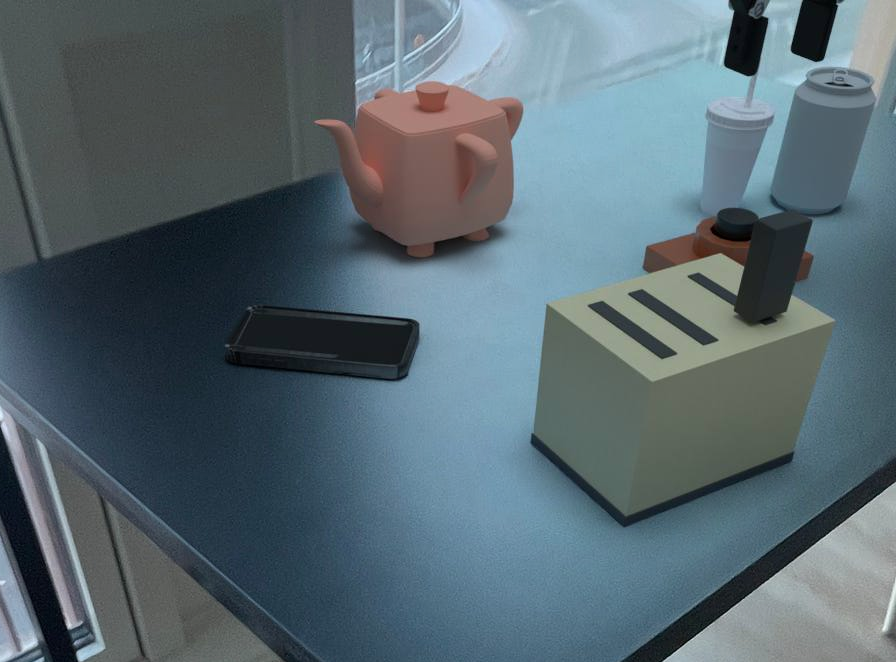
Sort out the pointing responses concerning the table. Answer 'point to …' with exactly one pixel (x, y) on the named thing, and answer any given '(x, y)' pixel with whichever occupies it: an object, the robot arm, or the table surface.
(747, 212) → the button
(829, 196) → the can
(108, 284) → the table surface
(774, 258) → the toaster slider
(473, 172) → the teapot
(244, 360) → the phone
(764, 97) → the table surface
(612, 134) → the table surface
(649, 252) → the control block
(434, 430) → the table surface
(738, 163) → the smoothie
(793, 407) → the toaster
